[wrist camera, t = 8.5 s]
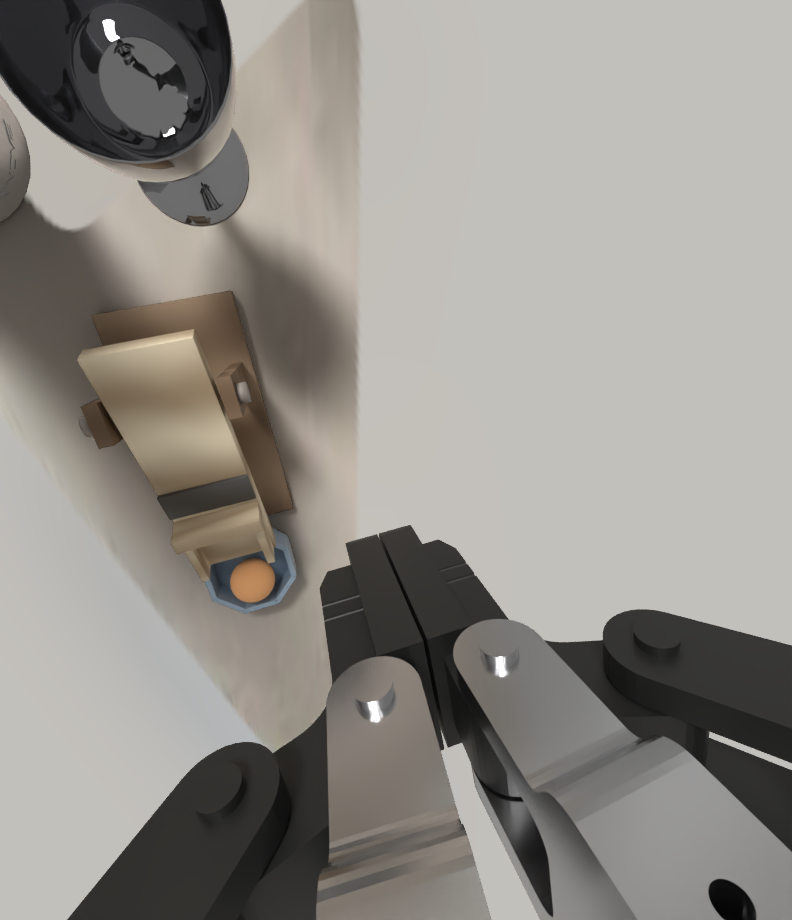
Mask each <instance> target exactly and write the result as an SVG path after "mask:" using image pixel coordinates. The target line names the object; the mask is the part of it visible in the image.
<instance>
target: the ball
mask: <svg viewBox="0 0 792 920" xmlns="http://www.w3.org/2000/svg"><path fill="white" fill-rule="evenodd" d="M274 584H275V574H274V571H273V569H272V567H271V566H270V564H268V563H267V562H266V561H264V560H262V559H258V558H251V559H247V560H244V561H242V562H241V563H239V564H238V565H237V566H236V567H235V569H234V570H233V572H232V575H231V578H230V586H231V590H232V592H233V594H234V595H235V596H236V597H237V598H238V599H240V600H241V601H244V602H248V603H253V602H258V601H261V600H263V599H264V598H266V597H267V596H268V595H269V594H270V592H271V591H272V589H273V587H274Z"/></svg>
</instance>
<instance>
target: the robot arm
mask: <svg viewBox="0 0 792 920" xmlns="http://www.w3.org/2000/svg"><path fill="white" fill-rule="evenodd" d="M29 179H30V155H29V151H28V147H27V142H26V138H25V136H24V133H23V131H22V129H21V127H20V124H19V122H18V120H17V118H16V116H15V115H14V113H13V112H12V110H11V109H10V107H9V106H8V104H7V102H6V101H5V100H4V99H3V98H2V96H1V95H0V222H1V221H2V220H4V219H6V218H8V217H9V216H10V215H11V214H12V213H13V212H14V211H15V210H16V209H17V208H18V207H19V205H20V203H21V201H22V200H23V198H24V196H25V194H26V192H27V188H28V184H29ZM379 539H380V540H379ZM346 547H347V552H348V556H349V560H350V564H351V565H349V566H346V567H342V568H339V569H335V570H332V571H328V572H327V574H326V576H325V578H324V580H323V583H322V585H321V587H320V594H321V601H322V607H323V615H324V621H325V630H326V637H327V644H328V652H329V659H330V666H331V673H332V687H331V689H330V691H329V694H328V698H327V705H326V707H325V709H324V711H323V712H322V714H321V715H320V716H319V718H318V719H317V720H316V721H315V722H314V723H313V724H312V725H311V726H310V727H309V728H308V729H307V730H306V731H304V732H303V733H302V734H300V735H299V736H298V737H296V738H295V739H293V740H292V741H290V742H289V743H287V744H286V745H285V746H283V747H282V748H280V749H279V750H277V751H276V752H274V753H272V752H271V751H270V750H269V749H268V748H266V747H265V746H263V745H261V744H257V743H253V742H241V743H235V744H232V745H228V746H225V747H223V748H221V749H219V750H217V751H215V752H213V753H212V754H210V755H208V756H207V757H205V758H204V759H203V760H201V761H200V762H199V763H198V764H196V765H195V766H194V767H193V768H192V769H191V770H190V771H189V772H188V773H187V774H186V775H185V776H184V778H183V779H182V780H181V781H180V782H179V784H178V785H177V786H176V787H175V789H174V790H173V791H172V792H171V793H170V795H169V796H168V797H167V798H166V800H165V801H164V802H163V803H162V804H161V806H160V807H159V808H158V809H157V811H156V812H155V813H154V814H153V816H152V817H151V818H150V819H149V820H148V822H147V823H146V824H145V825H144V826H143V828H142V829H141V830H140V831H139V833H138V834H137V835H136V836H135V837H134V839H133V840H132V841H131V842H130V844H129V845H128V846H127V847H126V848H125V850H124V851H123V852H122V854H121V855H120V856H119V857H118V858H117V860H116V861H115V862H114V863H113V864H112V866H111V867H110V868H109V869H108V871H107V872H106V873H105V874H104V875H103V877H102V878H101V879H100V880H99V881H98V883H97V884H96V885H95V887H94V888H93V889H92V890H91V891H90V892H89V894H88V895H87V896H86V897H85V899H84V900H83V901H82V902H81V904H80V905H79V906H78V907H77V908H76V910H75V911H74V912H73V913H72V915H71V916H70V917H69V918H68V920H491V916H490V913H489V909H488V906H487V902H486V899H485V895H484V892H483V888H482V885H481V881H480V878H479V874H478V871H477V867H476V864H475V861H474V857H473V853H472V850H471V847H470V843H469V840H468V837H467V834H466V831H465V828H464V826H463V824H461V821H460V819H459V815H458V812H457V808H456V805H455V801H454V798H453V794H452V790H451V787H450V783H449V779H448V776H447V773H446V769H445V765H444V761H443V758H442V754H441V750H444V745H443V740H442V735H441V730H442V733H443V736H444V739H445V741H446V744H447V746H448V747H451V746H453V745H456V744H459V743H463V745H464V747H465V750H466V752H467V754H468V757H469V759H470V762H471V765H472V772H473V777H474V783H475V787H476V789H477V792H478V794H479V797H480V799H481V801H482V803H483V805H484V807H485V809H486V811H487V813H488V815H489V817H490V819H491V821H492V823H493V825H494V827H495V829H496V831H497V833H498V835H499V837H500V839H501V841H502V843H503V845H504V847H505V849H506V851H507V853H508V855H509V857H510V859H511V862H512V864H513V866H514V868H515V870H516V872H517V874H518V876H519V878H520V880H521V882H522V884H523V886H524V888H525V890H526V892H527V894H528V896H529V898H530V900H531V902H532V904H533V906H534V908H535V910H536V912H537V914H538V916H539V918H540V920H792V770H790V769H787V768H784V767H782V766H779V765H777V764H774V763H772V762H769V761H767V760H764V759H761V758H759V757H756V756H754V755H752V754H749V753H746V752H744V751H741V750H739V749H736V748H734V747H731V746H728V745H726V744H724V743H721V742H718V741H716V740H713V739H711V738H709V731H710V732H713V733H715V734H718V735H720V736H723V737H726V738H728V739H731V740H733V741H736V742H738V743H741V744H744V745H746V746H749V747H752V748H754V749H757V750H759V751H762V752H764V753H767V754H770V755H772V756H775V757H777V758H780V759H783V760H785V761H788V762H790V763H792V646H791V645H787V644H783V643H780V642H776V641H772V640H768V639H764V638H761V637H757V636H753V635H749V634H745V633H742V632H737V631H734V630H730V629H726V628H722V627H719V626H715V625H711V624H707V623H703V622H699V621H695V620H692V619H688V618H684V617H681V616H676V615H672V614H669V613H665V612H660V611H655V610H630V611H626V612H622V613H620V614H617V615H616V616H614V617H612V618H611V619H610V620H609V621H608V622H607V623H606V625H605V627H604V630H603V640H601V641H585V642H568V643H567V642H560V643H559V642H550V641H545V640H543V639H542V637H541V636H540V635H539V634H537V633H536V632H535V631H534V630H533V629H531V628H530V627H528V626H526V625H524V624H522V623H519V622H516V621H512V620H509V619H508V618H507V617H506V616H505V614H504V613H503V611H502V610H501V609H500V607H499V606H498V605H497V603H496V602H495V600H494V599H493V598H492V596H491V595H490V594H489V592H488V591H487V590H486V588H485V587H484V586H483V584H482V583H481V582H480V580H479V579H478V578H477V576H475V575H474V572H473V571H472V570H471V568H470V567H469V566H468V565H467V564H466V562H465V560H464V559H463V557H462V556H461V555H460V553H459V552H458V551H457V550H456V548H454V547H452V546H450V545H448V544H446V543H444V542H442V541H440V540H435V541H432V542H429V543H425V544H422V543H421V541H420V540H419V538H418V536H417V535H416V533H415V531H414V530H413V528H412V527H411V525H408V526H405V527H401V528H397V529H394V530H390V531H387V532H383V533H380V534H379V538H378V536H377V534H376V535H373V536H369V537H365V538H362V539H358V540H355V541H351V542H348V543H346ZM440 728H441V730H440Z"/></svg>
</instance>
